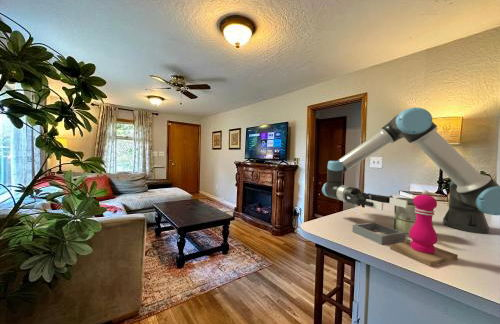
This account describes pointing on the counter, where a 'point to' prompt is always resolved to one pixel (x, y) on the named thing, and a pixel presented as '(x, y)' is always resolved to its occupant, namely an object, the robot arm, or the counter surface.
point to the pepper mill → (424, 224)
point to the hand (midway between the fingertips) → (395, 205)
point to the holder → (390, 236)
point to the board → (424, 254)
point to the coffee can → (405, 216)
